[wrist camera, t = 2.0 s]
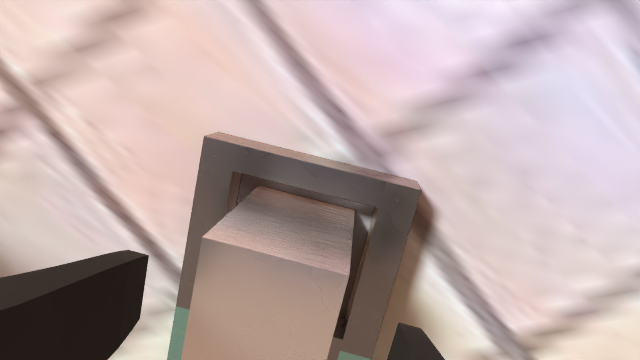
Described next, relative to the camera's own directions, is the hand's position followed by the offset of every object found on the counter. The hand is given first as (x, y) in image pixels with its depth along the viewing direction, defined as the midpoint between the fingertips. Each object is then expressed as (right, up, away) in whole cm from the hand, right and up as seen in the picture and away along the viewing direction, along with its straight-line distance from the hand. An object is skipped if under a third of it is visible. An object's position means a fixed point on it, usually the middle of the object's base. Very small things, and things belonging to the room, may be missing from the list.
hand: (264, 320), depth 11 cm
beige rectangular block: (+1, +1, +6) cm, 6 cm away
